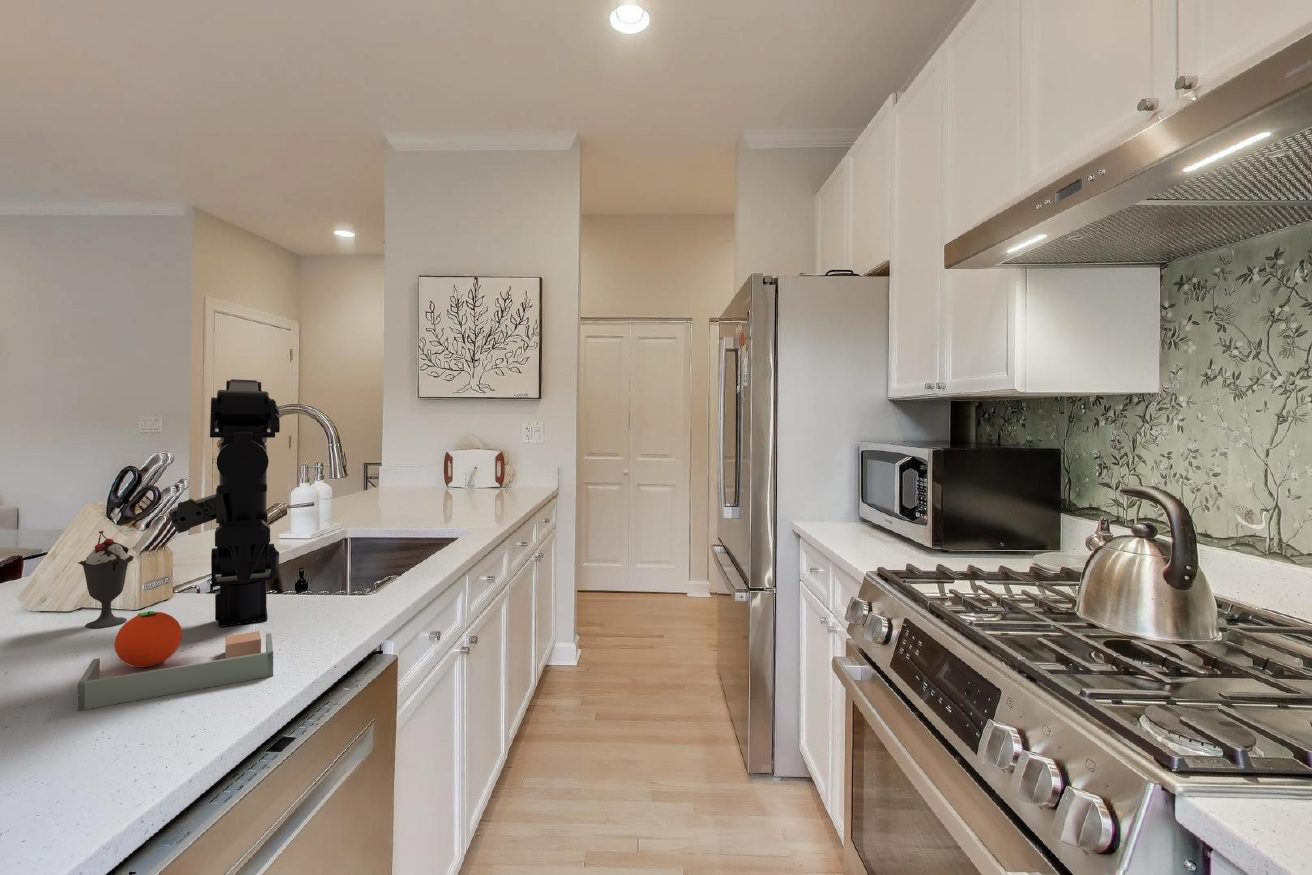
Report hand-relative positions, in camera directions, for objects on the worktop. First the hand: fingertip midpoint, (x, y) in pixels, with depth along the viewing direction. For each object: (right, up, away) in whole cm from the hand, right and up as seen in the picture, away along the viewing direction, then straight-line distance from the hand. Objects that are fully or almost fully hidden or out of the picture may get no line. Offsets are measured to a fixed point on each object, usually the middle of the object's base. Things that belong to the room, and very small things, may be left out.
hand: (243, 583), depth 91 cm
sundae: (-26, -8, +7) cm, 28 cm away
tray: (+1, -9, -13) cm, 16 cm away
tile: (+3, -9, -4) cm, 10 cm away
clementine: (-7, -9, -8) cm, 14 cm away
